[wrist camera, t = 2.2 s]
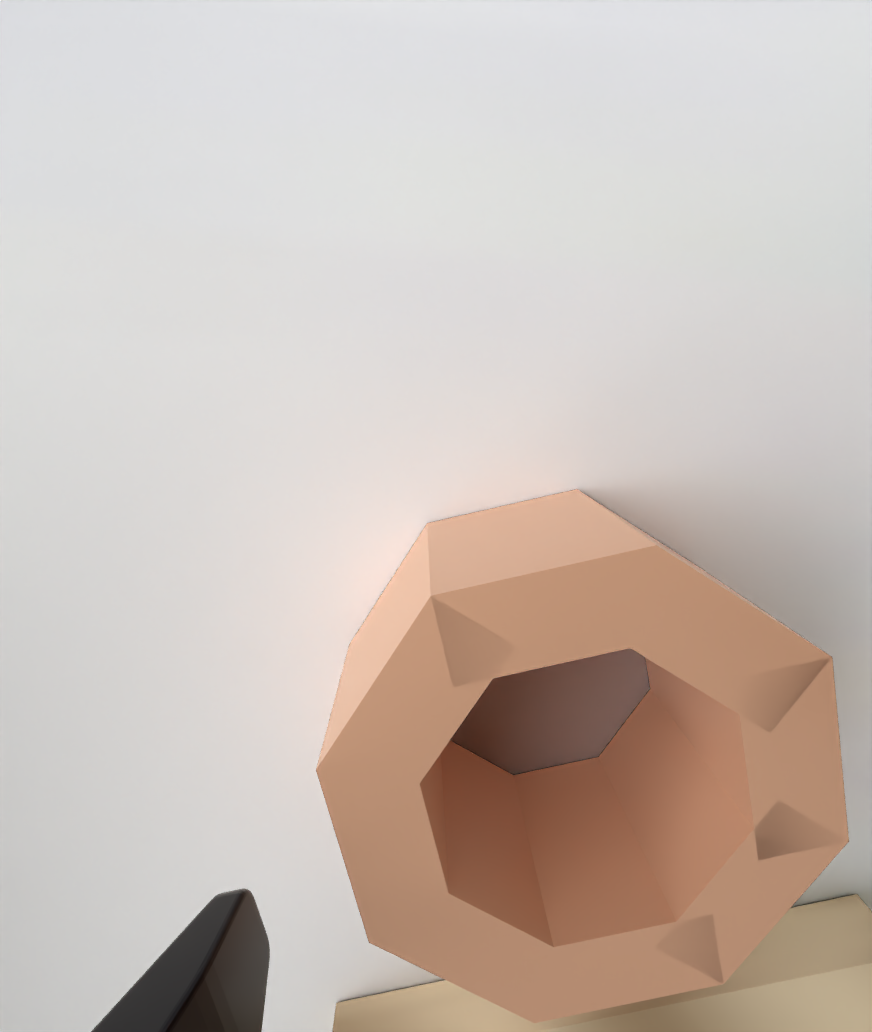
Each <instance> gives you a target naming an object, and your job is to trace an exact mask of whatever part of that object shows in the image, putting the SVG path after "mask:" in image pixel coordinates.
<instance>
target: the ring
mask: <svg viewBox="0 0 872 1032" xmlns="http://www.w3.org/2000/svg"><path fill="white" fill-rule="evenodd" d="M629 648H630V649H632V650H634V651H635V652H637V653H639V654H640V655H642V656H644V657H645V660H646V666H647V672H648V678H649V684H650V690H649V691H648V692H647V694H646V695H645V696H644V698H643V699H642V700H641V702H640V703H639V704H638V706H637V707H636V708H635V709H634V711H633V712H632V713H631V715H630V716H629V717H628V719H627V720H626V721H625V723H624V724H623V725H622V727H621V728H620V729H619V731H618V732H617V733H616V735H615V736H614V737H613V738H612V740H611V741H610V742H609V744H608V745H607V746H606V748H605V749H604V750H603V752H602V753H601V754H600V756H599V757H595V758H591V759H586V760H582V761H577V762H572V763H568V764H563V765H558V766H554V767H549V768H545V769H540V770H535V771H531V772H526V773H521V774H517V775H512V774H510V773H508V772H506V771H505V770H503V769H501V768H499V767H497V766H496V765H494V764H492V763H490V762H488V761H487V760H485V759H483V758H481V757H479V756H478V755H476V754H474V753H472V752H470V751H468V750H467V749H465V748H463V747H461V746H459V745H458V744H456V743H454V742H452V741H450V739H451V738H452V737H453V735H454V734H455V732H456V731H457V729H458V728H459V727H460V725H461V724H462V722H463V721H464V719H465V718H466V717H467V715H468V714H469V712H470V711H471V709H472V708H473V707H474V705H475V704H476V702H477V701H478V699H479V698H480V697H481V695H482V694H483V692H484V691H485V689H486V688H487V687H488V685H489V684H490V682H491V681H492V679H493V678H498V677H502V676H507V675H511V674H516V673H520V672H525V671H529V670H534V669H539V668H543V667H548V666H552V665H557V664H561V663H566V662H570V661H575V660H579V659H584V658H588V657H593V656H598V655H602V654H607V653H611V652H616V651H620V650H625V649H629ZM316 771H317V775H318V778H319V781H320V784H321V788H322V791H323V794H324V798H325V801H326V804H327V807H328V811H329V814H330V817H331V820H332V824H333V827H334V830H335V833H336V837H337V840H338V843H339V846H340V850H341V853H342V856H343V859H344V863H345V866H346V869H347V872H348V876H349V879H350V882H351V886H352V889H353V892H354V895H355V899H356V902H357V905H358V908H359V912H360V915H361V918H362V921H363V925H364V928H365V931H366V934H367V938H368V941H369V943H371V944H373V945H375V946H377V947H379V948H381V949H383V950H385V951H387V952H389V953H392V954H394V955H396V956H398V957H400V958H402V959H404V960H406V961H408V962H410V963H412V964H414V965H416V966H418V967H420V968H422V969H424V970H426V971H428V972H430V973H432V974H434V975H437V976H439V977H441V978H443V979H445V980H447V981H449V982H451V983H453V984H455V985H457V986H459V987H461V988H463V989H465V990H467V991H469V992H471V993H473V994H475V995H477V996H480V997H482V998H484V999H486V1000H488V1001H490V1002H492V1003H494V1004H496V1005H498V1006H500V1007H502V1008H504V1009H506V1010H508V1011H510V1012H512V1013H514V1014H516V1015H518V1016H520V1017H523V1018H525V1019H527V1020H529V1021H531V1022H533V1023H538V1022H543V1021H548V1020H553V1019H557V1018H562V1017H567V1016H572V1015H577V1014H582V1013H586V1012H591V1011H596V1010H601V1009H606V1008H611V1007H616V1006H620V1005H625V1004H630V1003H635V1002H640V1001H645V1000H650V999H654V998H659V997H664V996H669V995H674V994H679V993H684V992H688V991H693V990H698V989H703V988H708V987H713V986H717V985H722V984H724V983H725V982H726V981H727V980H728V979H729V977H730V976H731V975H732V974H733V973H734V972H735V971H736V970H737V968H738V967H739V966H740V965H741V964H742V963H743V962H744V960H745V959H746V958H747V957H748V956H749V955H750V954H751V952H752V951H753V950H754V949H755V948H756V947H757V946H758V944H759V943H760V942H761V941H762V940H763V939H764V938H765V936H766V935H767V934H768V933H769V932H770V931H771V930H772V928H773V927H774V926H775V925H776V924H777V923H778V922H779V920H780V919H781V918H782V917H783V916H784V915H785V914H786V912H787V911H788V910H789V909H790V908H791V907H792V906H793V905H794V903H795V902H796V901H797V900H798V899H799V898H800V897H801V895H802V894H803V893H804V892H805V891H806V890H807V889H808V887H809V886H810V885H811V884H812V883H813V882H814V881H815V879H816V878H817V877H818V876H819V875H820V874H821V873H822V871H823V870H824V869H825V868H826V867H827V866H828V865H829V863H830V862H831V861H832V860H833V859H834V858H835V857H836V855H837V854H838V853H839V852H840V851H841V850H842V849H843V847H844V846H845V845H846V844H847V843H848V842H849V837H848V826H847V815H846V804H845V793H844V782H843V771H842V760H841V749H840V738H839V726H838V715H837V704H836V693H835V682H834V671H833V660H832V657H831V656H830V655H828V654H827V653H825V652H824V651H822V650H821V649H819V648H818V647H816V646H815V645H813V644H812V643H810V642H809V641H807V640H806V639H805V638H803V637H802V636H800V635H799V634H797V633H796V632H794V631H793V630H791V629H790V628H788V627H787V626H785V625H784V624H782V623H781V622H779V621H778V620H776V619H775V618H773V617H772V616H770V615H769V614H768V613H766V612H765V611H763V610H762V609H760V608H759V607H757V606H756V605H754V604H753V603H751V602H750V601H748V600H747V599H745V598H744V597H742V596H741V595H739V594H738V593H736V592H735V591H734V590H732V589H731V588H729V587H728V586H726V585H725V584H723V583H722V582H720V581H719V580H717V579H716V578H714V577H713V576H711V575H710V574H708V573H707V572H705V571H704V570H702V569H701V568H699V567H698V566H696V565H695V564H693V563H692V562H690V561H689V560H687V559H685V558H684V557H682V556H681V555H679V554H678V553H676V552H674V551H673V550H671V549H670V548H668V547H667V546H665V545H664V544H662V543H660V542H659V541H657V540H656V539H654V538H653V537H651V536H649V535H648V534H646V533H645V532H643V531H642V530H640V529H639V528H637V527H635V526H634V525H632V524H631V523H629V522H628V521H626V520H624V519H623V518H621V517H620V516H618V515H617V514H615V513H614V512H612V511H610V510H609V509H607V508H606V507H604V506H603V505H601V504H599V503H598V502H596V501H595V500H593V499H592V498H590V497H589V496H587V495H585V494H584V493H582V492H581V491H579V490H578V489H575V490H571V491H567V492H562V493H558V494H553V495H549V496H544V497H540V498H536V499H531V500H527V501H522V502H518V503H514V504H509V505H505V506H500V507H496V508H492V509H487V510H483V511H478V512H474V513H470V514H465V515H461V516H456V517H452V518H448V519H443V520H439V521H434V522H430V523H427V524H426V526H425V527H424V529H423V530H422V532H421V534H420V535H419V537H418V538H417V540H416V541H415V543H414V544H413V546H412V548H411V549H410V551H409V552H408V554H407V555H406V557H405V559H404V560H403V562H402V563H401V565H400V566H399V568H398V569H397V571H396V573H395V574H394V576H393V577H392V579H391V580H390V582H389V583H388V585H387V587H386V588H385V590H384V591H383V593H382V594H381V596H380V598H379V599H378V601H377V602H376V604H375V605H374V607H373V608H372V610H371V612H370V613H369V615H368V616H367V618H366V619H365V621H364V622H363V624H362V626H361V627H360V629H359V630H358V632H357V633H356V635H355V636H354V638H353V640H352V641H351V643H350V644H349V648H348V652H347V655H346V659H345V663H344V667H343V670H342V674H341V678H340V682H339V685H338V689H337V693H336V697H335V700H334V704H333V708H332V712H331V715H330V719H329V723H328V727H327V730H326V734H325V738H324V742H323V746H322V749H321V753H320V757H319V761H318V764H317V768H316Z"/></svg>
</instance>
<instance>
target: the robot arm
mask: <svg viewBox="0 0 872 1032" xmlns="http://www.w3.org/2000/svg"><path fill="white" fill-rule="evenodd" d="M269 958H270V949H269V941H268V937H267V933H266V931H265V928H264V925H263V922H262V919H261V916H260V913H259V911H258V908H257V905H256V902H255V899H254V897H253V895H252V893H251V892H250V891H249V890H248V889H238V890H234V891H229V892H224V893H221V894H218V895H217V896H215V897H214V898H213V899H212V900H211V901H210V902H209V903H208V904H207V905H206V906H205V908H204V909H203V910H202V911H201V912H200V913H199V914H198V915H197V916H196V917H195V919H194V920H193V921H192V922H191V923H190V924H189V925H188V926H187V927H186V928H185V930H184V931H183V932H182V933H181V934H180V935H179V936H178V937H177V938H176V939H175V940H174V942H173V943H172V944H171V945H170V946H169V947H168V948H167V949H166V950H165V951H164V953H163V954H162V955H161V956H160V957H159V958H158V959H157V960H156V961H155V962H154V964H153V965H152V966H151V967H150V968H149V969H148V970H147V971H146V972H145V973H144V974H143V976H142V977H141V978H140V979H139V980H138V981H137V982H136V983H135V984H134V985H133V987H132V988H131V989H130V990H129V991H128V992H127V993H126V994H125V995H124V996H123V998H122V999H121V1000H120V1001H119V1002H118V1003H117V1004H116V1005H115V1006H114V1007H113V1008H112V1010H111V1011H110V1012H109V1013H108V1014H107V1015H106V1016H105V1017H104V1018H103V1019H102V1021H101V1022H100V1023H99V1024H98V1025H97V1026H96V1027H95V1028H94V1029H93V1030H92V1032H261V1030H262V1021H263V1012H264V1004H265V995H266V986H267V977H268V968H269Z"/></svg>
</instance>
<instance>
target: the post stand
mask: <svg viewBox="0 0 872 1032" xmlns="http://www.w3.org/2000/svg"><path fill="white" fill-rule="evenodd" d="M333 1032H872V911H871V910H870V909H869V908H868V907H867V906H866V904H865V903H864V902H863V901H862V900H861V898H860V897H859V896H858V895H857V894H855V895H851V896H846V897H841V898H836V899H831V900H827V901H822V902H817V903H812V904H807V905H803V906H798V907H793V908H790V909H789V910H788V911H787V912H786V914H785V915H784V916H783V917H782V918H781V919H780V920H779V922H778V923H777V924H776V925H775V926H774V927H773V928H772V930H771V931H770V932H769V933H768V934H767V935H766V936H765V938H764V939H763V940H762V941H761V942H760V943H759V944H758V946H757V947H756V948H755V949H754V950H753V951H752V952H751V954H750V955H749V956H748V957H747V958H746V959H745V960H744V962H743V963H742V964H741V965H740V966H739V967H738V968H737V970H736V971H735V972H734V973H733V974H732V975H731V976H730V977H729V979H728V980H727V981H726V982H725V983H724V984H722V985H717V986H713V987H708V988H703V989H698V990H693V991H688V992H684V993H679V994H674V995H669V996H664V997H659V998H654V999H650V1000H645V1001H640V1002H635V1003H630V1004H625V1005H620V1006H616V1007H611V1008H606V1009H601V1010H596V1011H591V1012H586V1013H582V1014H577V1015H572V1016H567V1017H562V1018H557V1019H553V1020H548V1021H543V1022H538V1023H533V1022H531V1021H529V1020H527V1019H525V1018H523V1017H520V1016H518V1015H516V1014H514V1013H512V1012H510V1011H508V1010H506V1009H504V1008H502V1007H500V1006H498V1005H496V1004H494V1003H492V1002H490V1001H488V1000H486V999H484V998H482V997H480V996H477V995H475V994H473V993H471V992H469V991H467V990H465V989H463V988H461V987H459V986H457V985H455V984H453V983H451V982H449V981H447V980H443V981H438V982H434V983H429V984H424V985H419V986H414V987H410V988H405V989H400V990H395V991H390V992H386V993H381V994H376V995H371V996H366V997H362V998H357V999H352V1000H347V1001H342V1002H338V1003H336V1009H335V1017H334V1024H333Z"/></svg>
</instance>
